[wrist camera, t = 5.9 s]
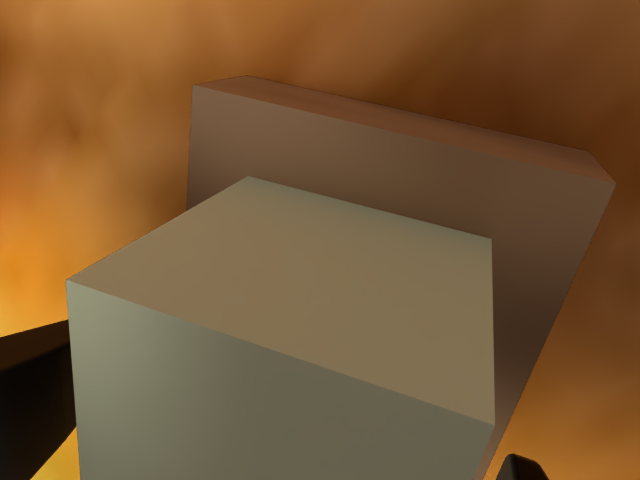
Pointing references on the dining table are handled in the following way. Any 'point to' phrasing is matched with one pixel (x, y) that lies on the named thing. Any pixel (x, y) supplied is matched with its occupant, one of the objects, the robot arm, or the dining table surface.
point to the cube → (285, 345)
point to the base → (419, 193)
